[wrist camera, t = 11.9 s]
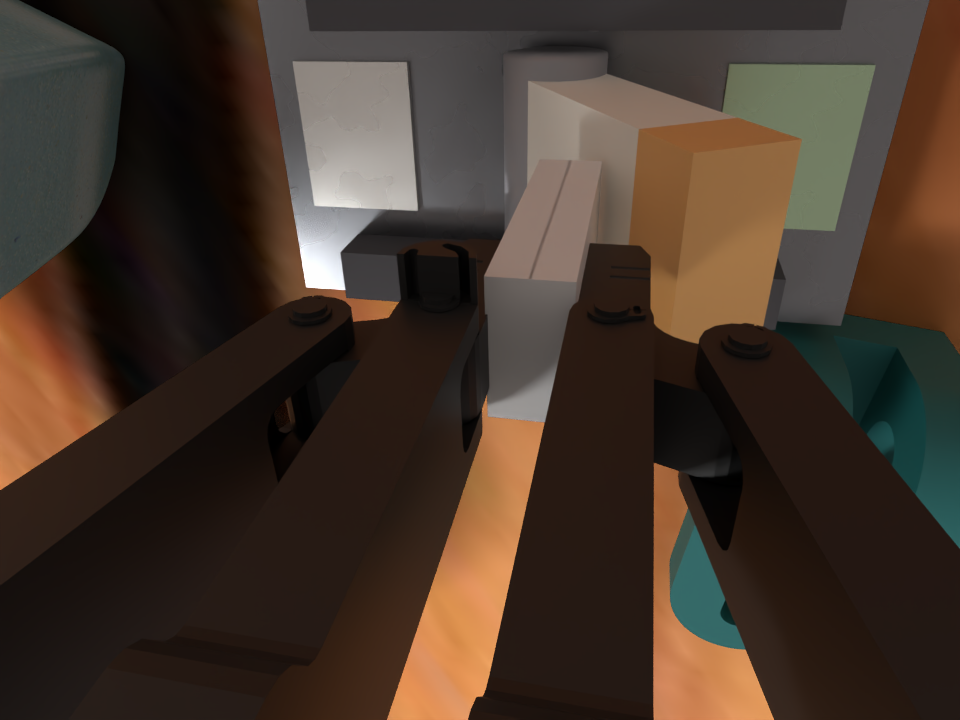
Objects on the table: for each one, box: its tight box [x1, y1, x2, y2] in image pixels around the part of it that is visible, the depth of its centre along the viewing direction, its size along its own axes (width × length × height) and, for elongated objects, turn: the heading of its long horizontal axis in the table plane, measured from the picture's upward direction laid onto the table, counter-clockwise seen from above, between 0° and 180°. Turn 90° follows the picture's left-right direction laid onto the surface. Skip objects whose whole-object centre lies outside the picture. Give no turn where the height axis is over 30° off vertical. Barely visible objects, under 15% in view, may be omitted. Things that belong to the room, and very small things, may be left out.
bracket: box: [670, 314, 960, 649], centre depth 29 cm, size 18×7×8 cm, turn 173°
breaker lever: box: [503, 46, 802, 344], centre depth 19 cm, size 3×6×10 cm, turn 3°
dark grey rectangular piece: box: [305, 0, 847, 330], centre depth 23 cm, size 15×11×2 cm
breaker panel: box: [258, 0, 929, 326], centre depth 25 cm, size 20×12×3 cm, turn 91°
